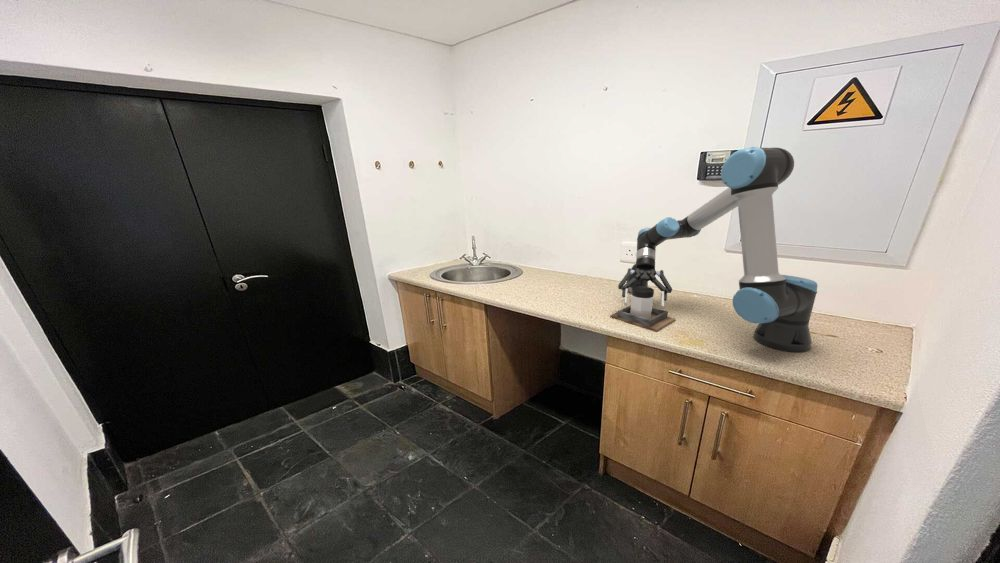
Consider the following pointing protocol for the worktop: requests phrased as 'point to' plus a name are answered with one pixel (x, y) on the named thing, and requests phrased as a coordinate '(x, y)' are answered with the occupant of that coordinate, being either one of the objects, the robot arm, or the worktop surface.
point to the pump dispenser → (639, 282)
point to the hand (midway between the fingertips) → (643, 305)
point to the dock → (655, 323)
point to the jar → (642, 301)
